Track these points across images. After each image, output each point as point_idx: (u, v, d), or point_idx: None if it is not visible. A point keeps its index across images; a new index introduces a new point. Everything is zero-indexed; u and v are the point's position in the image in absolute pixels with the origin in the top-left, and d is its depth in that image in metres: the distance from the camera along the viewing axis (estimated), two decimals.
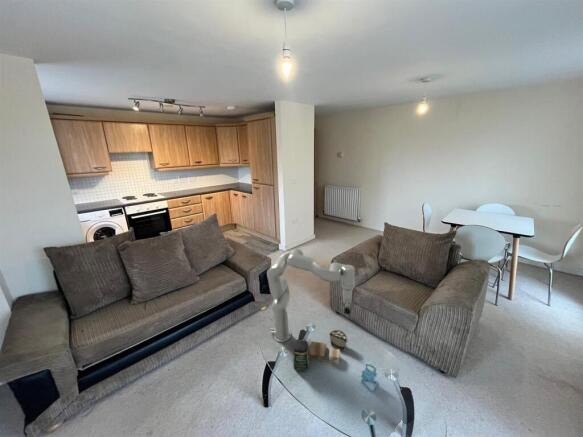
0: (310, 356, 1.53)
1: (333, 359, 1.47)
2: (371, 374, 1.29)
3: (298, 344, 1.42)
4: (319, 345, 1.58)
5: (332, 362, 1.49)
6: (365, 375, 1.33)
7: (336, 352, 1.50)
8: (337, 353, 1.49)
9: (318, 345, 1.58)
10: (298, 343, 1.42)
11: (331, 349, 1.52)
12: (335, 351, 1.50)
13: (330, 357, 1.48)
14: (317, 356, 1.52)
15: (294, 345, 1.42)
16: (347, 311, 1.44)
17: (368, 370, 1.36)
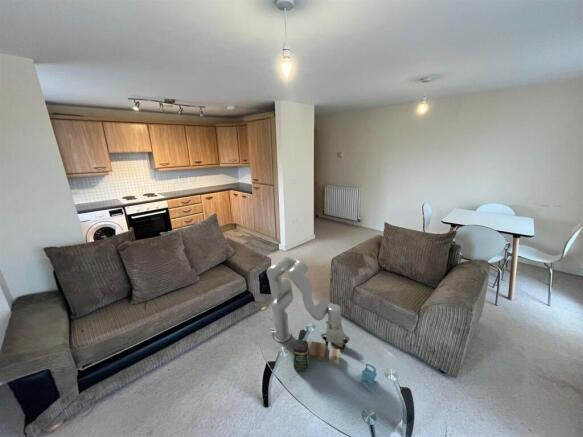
0: (310, 356, 1.53)
1: (333, 359, 1.47)
2: (371, 374, 1.29)
3: (298, 344, 1.42)
4: (319, 345, 1.58)
5: (332, 362, 1.49)
6: (365, 375, 1.33)
7: (336, 352, 1.50)
8: (337, 353, 1.49)
9: (318, 345, 1.58)
10: (298, 343, 1.42)
11: (331, 349, 1.52)
12: (335, 351, 1.50)
13: (330, 357, 1.48)
14: (317, 356, 1.52)
15: (294, 345, 1.42)
16: None
17: (368, 370, 1.36)
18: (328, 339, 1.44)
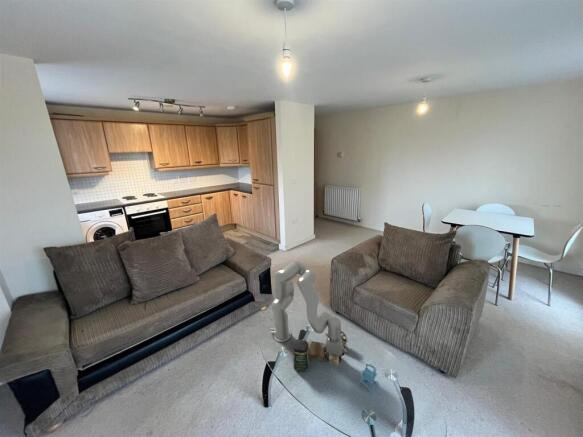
0: (310, 356, 1.53)
1: (333, 359, 1.47)
2: (371, 374, 1.29)
3: (298, 344, 1.42)
4: (319, 345, 1.58)
5: (332, 362, 1.49)
6: (365, 375, 1.33)
7: None
8: None
9: (317, 345, 1.58)
10: (298, 343, 1.42)
11: None
12: None
13: (330, 357, 1.48)
14: (317, 356, 1.52)
15: (294, 345, 1.42)
16: None
17: (368, 370, 1.36)
18: (327, 351, 1.47)
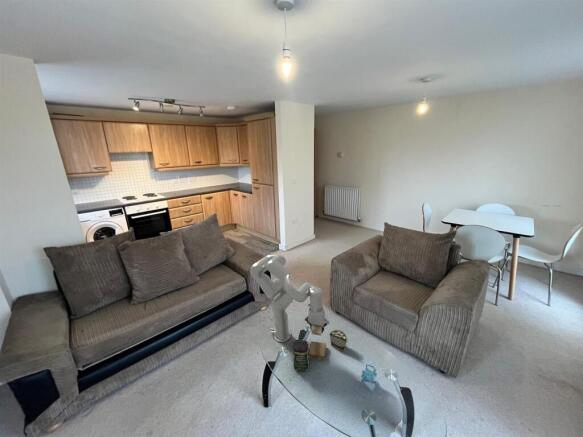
0: (310, 356, 1.53)
1: (316, 329, 1.47)
2: (371, 374, 1.29)
3: (298, 344, 1.42)
4: (319, 345, 1.58)
5: (315, 333, 1.48)
6: (365, 375, 1.33)
7: None
8: None
9: (317, 345, 1.58)
10: (298, 343, 1.42)
11: None
12: None
13: (312, 328, 1.47)
14: (317, 356, 1.52)
15: (294, 345, 1.42)
16: None
17: (368, 370, 1.36)
18: (310, 321, 1.47)
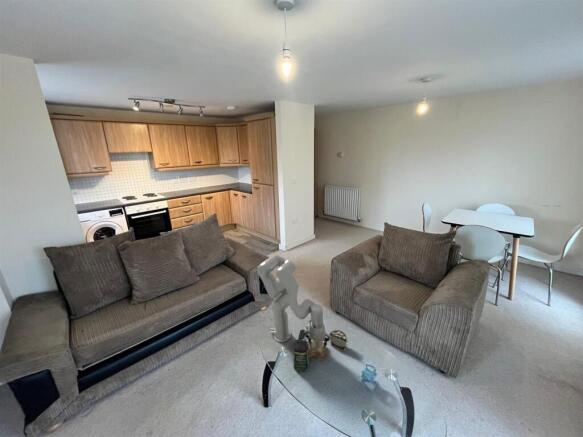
0: (310, 356, 1.53)
1: (316, 347, 1.52)
2: (371, 374, 1.29)
3: (298, 344, 1.42)
4: None
5: (315, 350, 1.53)
6: (365, 375, 1.33)
7: None
8: (320, 341, 1.53)
9: None
10: (298, 343, 1.42)
11: None
12: None
13: (313, 345, 1.52)
14: (317, 356, 1.52)
15: (294, 345, 1.42)
16: (326, 343, 1.53)
17: (368, 370, 1.36)
18: (310, 337, 1.51)
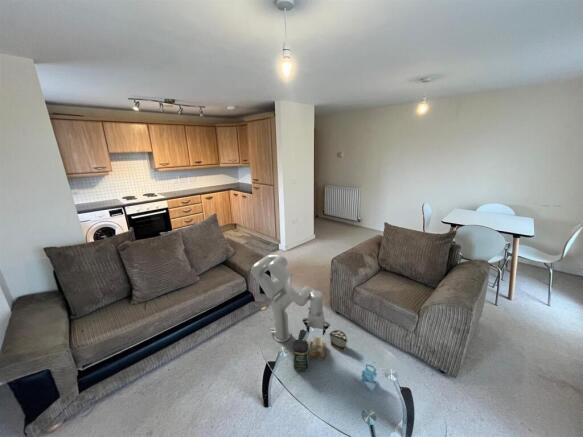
0: (310, 356, 1.53)
1: (316, 347, 1.52)
2: (371, 374, 1.29)
3: (298, 344, 1.42)
4: None
5: (315, 350, 1.53)
6: (365, 375, 1.33)
7: (319, 340, 1.54)
8: (320, 341, 1.54)
9: None
10: (298, 343, 1.42)
11: (314, 338, 1.56)
12: (319, 340, 1.55)
13: (313, 345, 1.52)
14: (317, 356, 1.52)
15: (294, 345, 1.42)
16: (325, 330, 1.50)
17: (368, 370, 1.36)
18: (309, 324, 1.48)
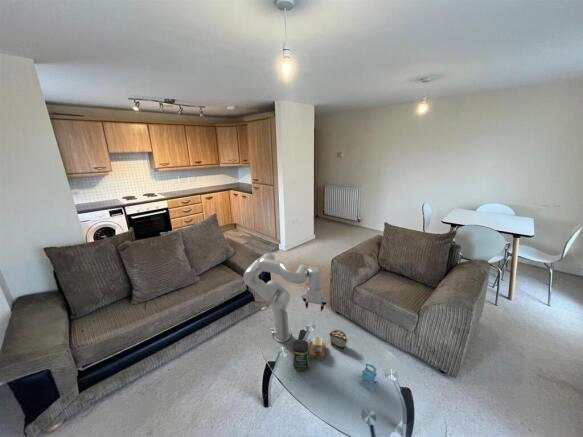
0: (310, 356, 1.53)
1: (316, 347, 1.52)
2: (371, 374, 1.29)
3: (298, 344, 1.42)
4: None
5: (315, 350, 1.53)
6: (365, 375, 1.33)
7: (319, 340, 1.55)
8: (320, 341, 1.54)
9: None
10: (298, 343, 1.42)
11: (314, 338, 1.57)
12: (319, 339, 1.55)
13: (313, 345, 1.52)
14: (317, 356, 1.52)
15: (294, 345, 1.42)
16: (323, 307, 1.54)
17: (368, 370, 1.36)
18: (307, 300, 1.52)
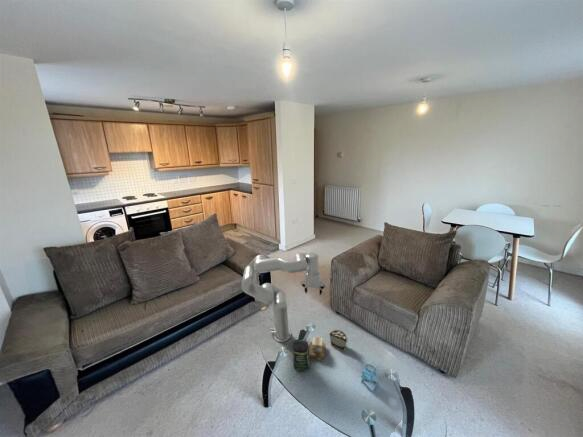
0: (310, 357, 1.53)
1: (316, 347, 1.52)
2: (371, 374, 1.29)
3: (298, 344, 1.42)
4: None
5: (315, 350, 1.53)
6: (365, 375, 1.33)
7: (319, 340, 1.55)
8: (320, 341, 1.54)
9: None
10: (298, 343, 1.42)
11: (314, 338, 1.56)
12: (318, 339, 1.55)
13: (313, 345, 1.52)
14: (317, 356, 1.51)
15: (294, 345, 1.42)
16: (321, 291, 1.61)
17: (368, 370, 1.36)
18: (306, 285, 1.59)
